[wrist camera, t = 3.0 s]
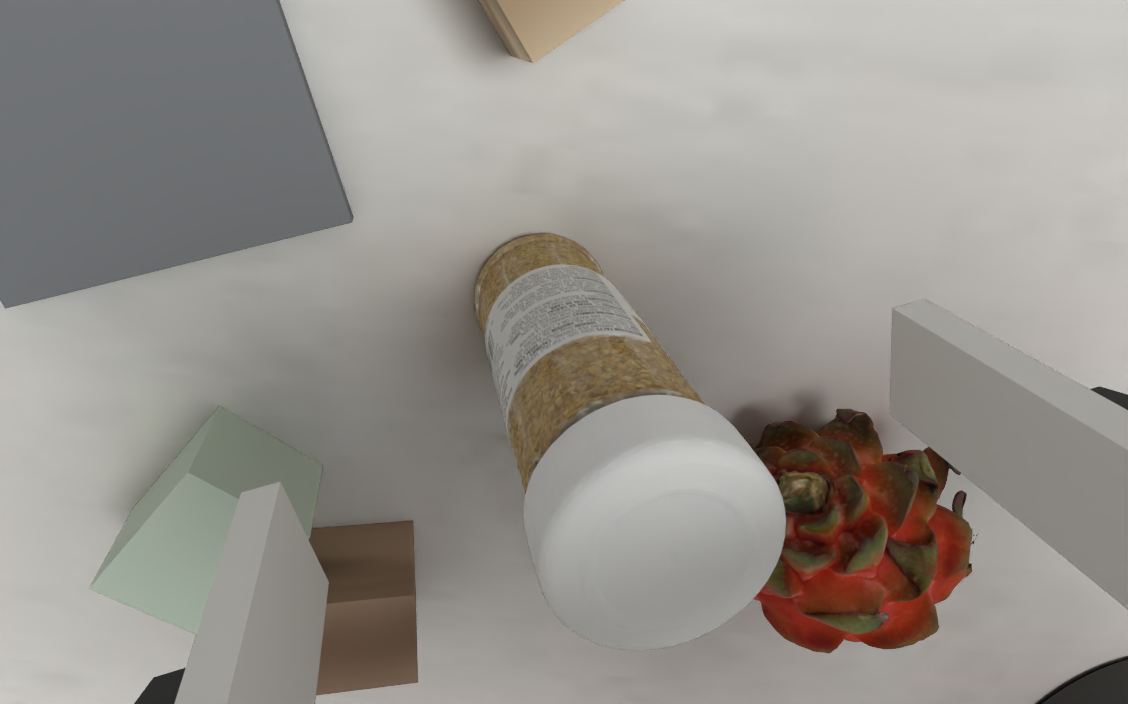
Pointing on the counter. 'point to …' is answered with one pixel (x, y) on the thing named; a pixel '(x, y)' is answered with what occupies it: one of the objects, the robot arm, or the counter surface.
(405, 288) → the counter surface
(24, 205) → the slate mat
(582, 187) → the counter surface
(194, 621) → the sage painted block
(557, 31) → the oak block
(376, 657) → the walnut block
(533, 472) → the sprinkles bottle
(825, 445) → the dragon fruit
